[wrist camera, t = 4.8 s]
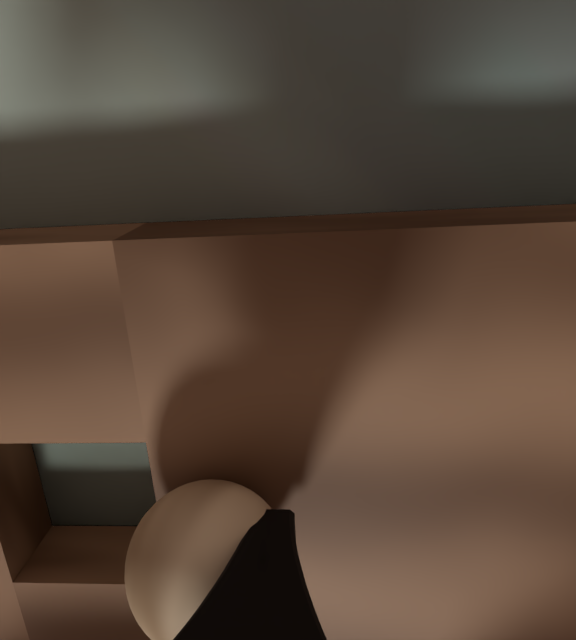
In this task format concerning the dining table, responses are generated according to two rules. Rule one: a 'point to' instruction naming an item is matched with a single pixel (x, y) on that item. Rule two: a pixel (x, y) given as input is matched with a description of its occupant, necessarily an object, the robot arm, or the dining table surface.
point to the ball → (185, 551)
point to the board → (307, 408)
